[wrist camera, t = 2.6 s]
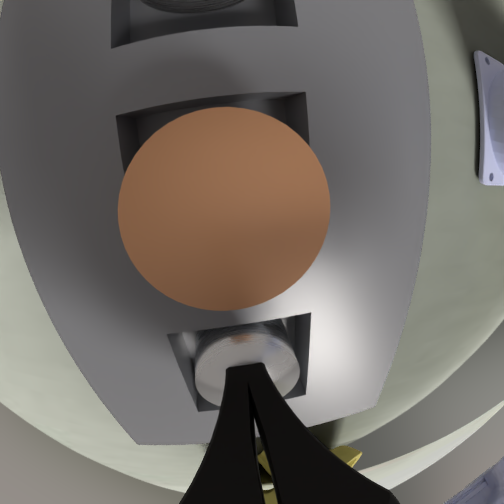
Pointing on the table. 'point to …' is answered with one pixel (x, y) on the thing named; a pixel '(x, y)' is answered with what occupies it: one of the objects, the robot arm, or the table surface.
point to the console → (187, 101)
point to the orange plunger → (224, 208)
